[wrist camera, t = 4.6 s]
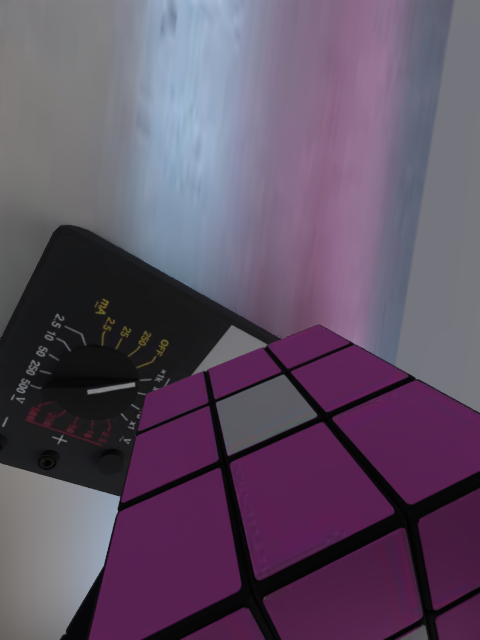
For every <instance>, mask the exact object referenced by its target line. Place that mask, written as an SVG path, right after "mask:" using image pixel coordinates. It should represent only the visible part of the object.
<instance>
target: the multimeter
mask: <svg viewBox="0 0 480 640" xmlns="http://www.w3.org/2000/svg"><path fill="white" fill-rule="evenodd" d="M278 340H281V339H280V338H278V337H276V336H275V335H273V334H271V333H269V332H267V331H266V330H264V329H262V328H260V327H259V326H257V325H255V324H253V323H252V322H250V321H248V320H246V319H244V318H243V317H241V316H239V315H237V314H236V313H234V312H232V311H230V310H229V309H227V308H225V307H223V306H221V305H220V304H218V303H216V302H214V301H213V300H211V299H209V298H207V297H206V296H204V295H202V294H200V293H198V292H197V291H195V290H193V289H191V288H190V287H188V286H186V285H184V284H183V283H181V282H179V281H177V280H175V279H174V278H172V277H170V276H168V275H167V274H165V273H163V272H161V271H159V270H158V269H156V268H154V267H152V266H151V265H149V264H147V263H145V262H144V261H142V260H140V259H138V258H136V257H135V256H133V255H131V254H129V253H128V252H126V251H124V250H122V249H121V248H119V247H117V246H115V245H113V244H112V243H110V242H108V241H106V240H105V239H103V238H101V237H99V236H98V235H96V234H94V233H92V232H90V231H89V230H86V229H83V228H80V227H76V226H72V225H61V226H59V227H58V228H57V229H56V230H55V231H54V232H53V234H52V236H51V238H50V240H49V242H48V244H47V246H46V248H45V250H44V252H43V254H42V256H41V258H40V260H39V262H38V264H37V266H36V268H35V270H34V272H33V274H32V276H31V278H30V280H29V282H28V284H27V286H26V288H25V290H24V292H23V295H22V297H21V299H20V301H19V303H18V305H17V307H16V309H15V311H14V313H13V315H12V317H11V319H10V321H9V323H8V325H7V327H6V329H5V331H4V333H3V335H2V337H1V339H0V463H2V464H5V465H9V466H12V467H16V468H20V469H23V470H27V471H30V472H34V473H38V474H41V475H45V476H48V477H52V478H55V479H59V480H63V481H66V482H70V483H73V484H77V485H81V486H84V487H88V488H91V489H95V490H99V491H103V492H106V493H109V494H113V495H116V496H120V497H121V493H122V489H123V485H124V480H125V476H126V472H127V468H128V464H129V460H130V456H131V452H132V448H133V443H134V439H135V435H136V431H137V427H138V423H139V418H140V414H141V410H142V406H143V402H144V398H145V395H146V394H148V393H150V392H152V391H155V390H157V389H160V388H162V387H164V386H167V385H169V384H172V383H174V382H177V381H179V380H182V379H184V378H187V377H189V376H192V375H194V374H197V373H199V372H202V371H207V369H209V368H212V367H214V366H216V365H219V364H221V363H224V362H226V361H229V360H231V359H234V358H236V357H239V356H241V355H244V354H246V353H249V352H251V351H254V350H256V349H259V348H262V347H264V348H265V347H266V346H267V345H268V344H271V343H273V342H276V341H278Z"/></svg>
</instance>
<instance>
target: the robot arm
mask: <svg viewBox="0 0 480 640" xmlns="http://www.w3.org/2000/svg"><path fill="white" fill-rule="evenodd" d="M102 572H103V568H102V570H101V572H100V573H99V575H98V577H97V578H96V580H95V582H94V583H93V585H92V587H91V588H90V590H89V592H88V594H87V596H86V597H85V599H84V600H83V602H82V604H81V606H80V607H79V609H78V610H77V612H76V614H75V616H74V617H73V619H72V621H71V622H70V624H69V626H68V627H67V629H66V634H64V635H63V636H62V637H61V639H60V640H86V638H87V633H88V629H89V625H90V621H91V617H92V613H93V609H94V605H95V600H96V596H97V592H98V588H99V584H100V580H101V576H102Z"/></svg>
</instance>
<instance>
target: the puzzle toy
mask: <svg viewBox="0 0 480 640" xmlns="http://www.w3.org/2000/svg"><path fill="white" fill-rule="evenodd" d="M86 640H480V413H479V412H477V411H475V410H473V409H471V408H470V407H468V406H466V405H464V404H462V403H461V402H459V401H457V400H455V399H453V398H452V397H450V396H448V395H446V394H444V393H443V392H441V391H439V390H437V389H435V388H434V387H432V386H430V385H428V384H426V383H424V382H423V381H421V380H418V379H415V377H413V376H412V375H410V374H408V373H406V372H404V371H402V370H401V369H399V368H397V367H395V366H394V365H392V364H390V363H388V362H386V361H385V360H383V359H381V358H379V357H377V356H376V355H374V354H372V353H370V352H368V351H367V350H365V349H363V348H361V347H359V346H358V345H355V344H354V343H352V342H350V341H348V340H347V339H345V338H343V337H341V336H339V335H338V334H336V333H334V332H332V331H330V330H329V329H327V328H325V327H323V326H321V325H316V326H313V327H311V328H308V329H306V330H303V331H301V332H298V333H296V334H293V335H291V336H288V337H286V338H283V339H281V340H278V341H276V342H273V343H271V344H268V345H267V346H266V347H265V348H264V347H262V348H259V349H256V350H254V351H251V352H249V353H246V354H244V355H241V356H239V357H236V358H234V359H231V360H229V361H226V362H224V363H221V364H219V365H216V366H214V367H212V368H209V369H207V371H202V372H199V373H197V374H194V375H192V376H189V377H187V378H184V379H182V380H179V381H177V382H174V383H172V384H169V385H167V386H164V387H162V388H160V389H157V390H155V391H152V392H150V393H148V394H146V395H145V398H144V402H143V406H142V410H141V414H140V418H139V423H138V427H137V431H136V435H135V439H134V443H133V448H132V452H131V456H130V460H129V464H128V468H127V472H126V476H125V480H124V485H123V489H122V493H121V497H120V501H119V506H118V513H117V515H116V518H115V522H114V526H113V530H112V534H111V538H110V543H109V547H108V551H107V555H106V559H105V563H104V567H103V572H102V576H101V580H100V584H99V588H98V592H97V596H96V600H95V605H94V609H93V613H92V617H91V621H90V625H89V629H88V633H87V638H86Z"/></svg>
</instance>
